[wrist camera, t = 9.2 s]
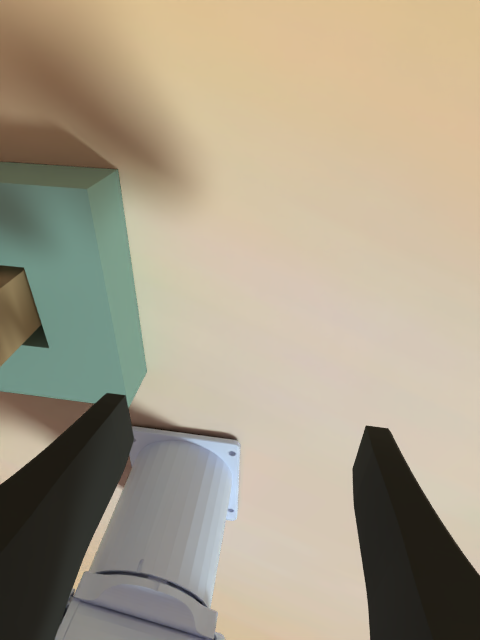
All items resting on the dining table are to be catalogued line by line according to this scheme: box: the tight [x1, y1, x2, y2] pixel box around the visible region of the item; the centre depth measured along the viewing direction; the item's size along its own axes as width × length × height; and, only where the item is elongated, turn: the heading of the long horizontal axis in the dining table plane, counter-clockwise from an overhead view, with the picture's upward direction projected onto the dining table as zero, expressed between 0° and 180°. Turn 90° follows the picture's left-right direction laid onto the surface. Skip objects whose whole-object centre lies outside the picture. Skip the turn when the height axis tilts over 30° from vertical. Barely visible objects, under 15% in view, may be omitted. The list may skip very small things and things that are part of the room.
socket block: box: [0, 162, 147, 408], centre depth 20 cm, size 12×12×3 cm
